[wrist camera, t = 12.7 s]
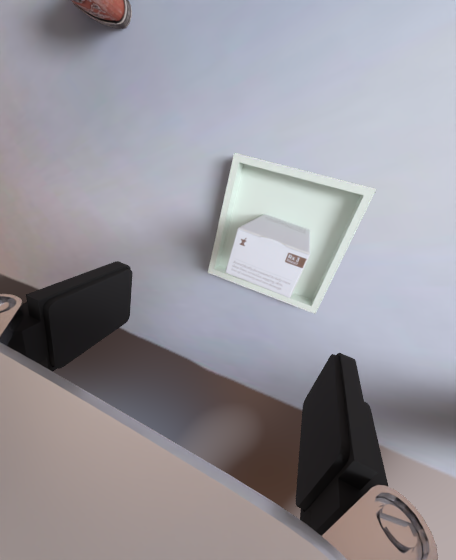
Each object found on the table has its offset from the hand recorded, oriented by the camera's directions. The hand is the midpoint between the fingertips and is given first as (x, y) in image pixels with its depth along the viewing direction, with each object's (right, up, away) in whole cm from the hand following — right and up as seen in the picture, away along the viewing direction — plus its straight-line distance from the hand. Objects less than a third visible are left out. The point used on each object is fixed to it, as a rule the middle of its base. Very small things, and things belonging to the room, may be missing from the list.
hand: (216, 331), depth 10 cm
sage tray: (+7, +8, +20) cm, 22 cm away
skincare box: (+7, +8, +19) cm, 22 cm away
